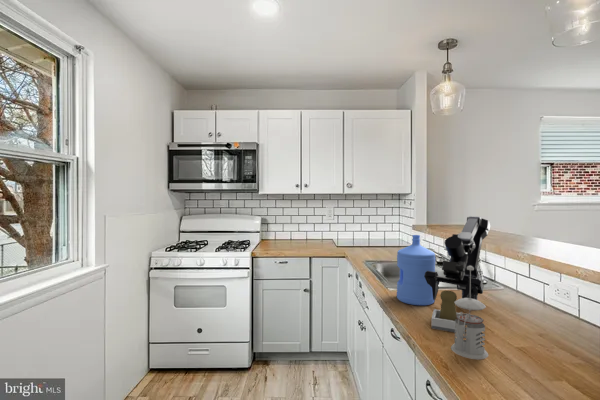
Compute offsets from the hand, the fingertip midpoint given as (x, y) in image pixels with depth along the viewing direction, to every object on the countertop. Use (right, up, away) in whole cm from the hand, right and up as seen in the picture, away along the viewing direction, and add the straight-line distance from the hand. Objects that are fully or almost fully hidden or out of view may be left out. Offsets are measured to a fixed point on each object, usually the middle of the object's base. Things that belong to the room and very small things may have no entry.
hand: (447, 302), depth 113 cm
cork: (+1, -8, +1) cm, 8 cm away
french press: (-2, -9, -18) cm, 20 cm away
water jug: (-1, -8, +29) cm, 30 cm away
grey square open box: (+1, -8, +1) cm, 8 cm away
